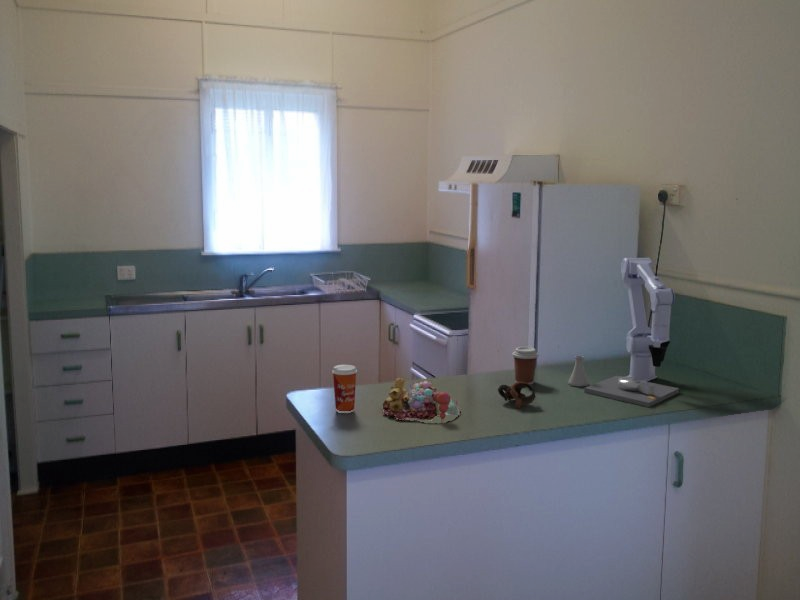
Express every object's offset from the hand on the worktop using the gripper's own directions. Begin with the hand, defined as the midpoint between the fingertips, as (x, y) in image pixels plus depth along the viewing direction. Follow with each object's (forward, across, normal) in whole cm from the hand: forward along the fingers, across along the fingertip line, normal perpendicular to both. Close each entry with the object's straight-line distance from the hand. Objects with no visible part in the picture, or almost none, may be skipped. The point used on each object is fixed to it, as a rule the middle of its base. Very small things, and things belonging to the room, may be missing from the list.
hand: (658, 363), depth 257 cm
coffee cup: (+10, +10, -43) cm, 45 cm away
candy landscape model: (+10, +56, -62) cm, 84 cm away
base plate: (+9, +6, -7) cm, 13 cm away
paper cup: (+10, +67, -83) cm, 107 cm away
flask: (+10, +4, -26) cm, 28 cm away
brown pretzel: (+10, +36, -38) cm, 53 cm away
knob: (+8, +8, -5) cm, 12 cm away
